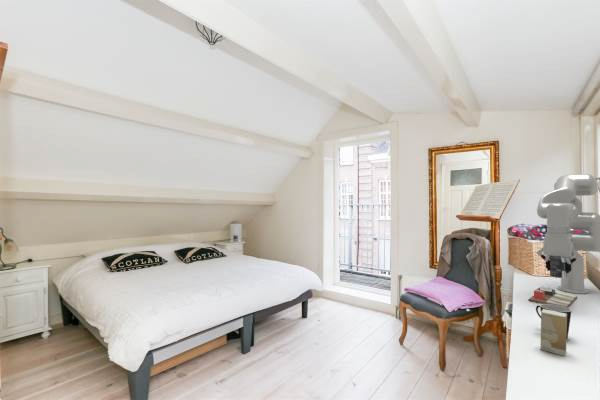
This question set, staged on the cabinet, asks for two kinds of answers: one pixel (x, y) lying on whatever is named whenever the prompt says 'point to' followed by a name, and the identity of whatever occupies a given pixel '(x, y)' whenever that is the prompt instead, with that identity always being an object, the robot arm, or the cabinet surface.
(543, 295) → the red die
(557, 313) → the skincare box
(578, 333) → the cabinet surface
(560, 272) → the pill bottle
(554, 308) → the coffee mug
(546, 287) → the dome
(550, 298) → the game board
